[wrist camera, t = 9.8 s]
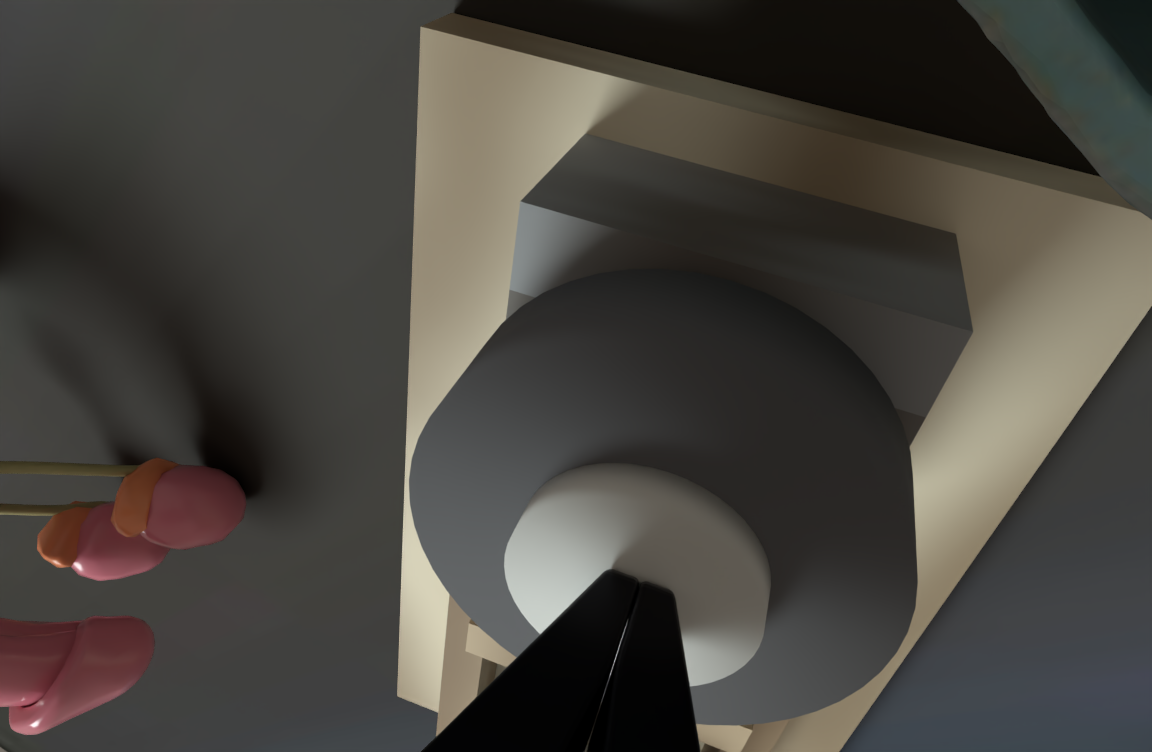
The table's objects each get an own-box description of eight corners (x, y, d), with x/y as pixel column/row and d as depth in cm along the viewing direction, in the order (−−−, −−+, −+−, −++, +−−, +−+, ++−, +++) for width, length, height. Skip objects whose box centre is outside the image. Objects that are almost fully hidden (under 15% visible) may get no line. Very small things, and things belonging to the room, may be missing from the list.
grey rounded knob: (980, 248, 11) (1037, 502, 7) (826, 544, 15) (805, 822, 11) (559, 134, 12) (390, 297, 8) (514, 439, 16) (384, 657, 12)
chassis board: (1180, 196, 12) (1292, 337, 9) (777, 806, 24) (760, 962, 21) (451, 12, 14) (318, 72, 11) (414, 664, 26) (347, 786, 23)
